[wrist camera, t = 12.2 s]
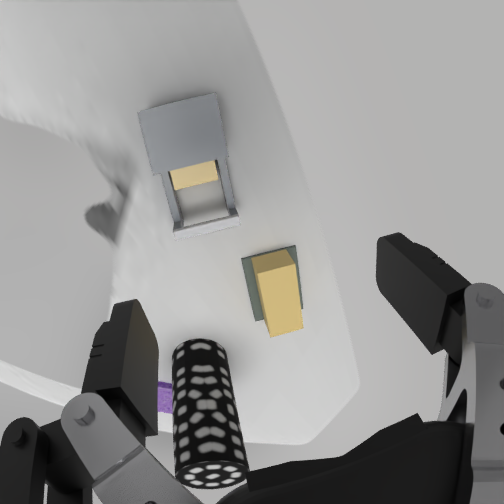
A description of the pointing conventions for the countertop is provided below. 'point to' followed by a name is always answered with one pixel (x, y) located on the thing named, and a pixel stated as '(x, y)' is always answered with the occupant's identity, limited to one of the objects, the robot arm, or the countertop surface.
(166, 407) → the sponges
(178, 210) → the dispenser
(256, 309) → the mat
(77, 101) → the countertop surface
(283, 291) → the wooden block
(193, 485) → the white-spotted black cylinder
